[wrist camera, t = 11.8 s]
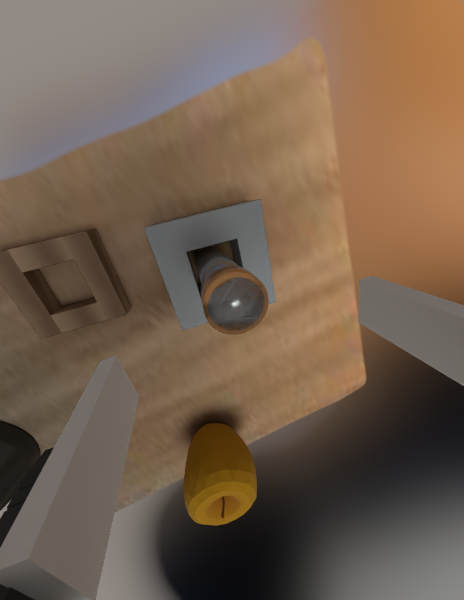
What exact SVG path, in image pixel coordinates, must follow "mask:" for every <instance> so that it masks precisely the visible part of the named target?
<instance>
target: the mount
mask: <svg viewBox="0 0 464 600" xmlns="http://www.w3.org/2000/svg"><path fill="white" fill-rule="evenodd" d="M70 260H75V262H76V264H77V266H78V268H79V270H80V271H81V273H82V275H83V277H84V279H85V281H86V283H87V284H88V286H89V288H90V290H91V292H92V294H93V296H94V297H95V298H92V299H88V300H84V301H81V302H77V303H74V304H70V305H66V306H63V307H62V306H61V304H60V303H59V301H58V300H57V298H56V296H55V295H54V293H53V292H52V290H51V288H50V287H49V285H48V284H47V282H46V280H45V279H44V277H43V276H42V274H41V272H40V271H39V269H38V268H42V267H46V266H50V265H54V264H58V263H62V262H66V261H70ZM0 283H1V284H2V286H3V287H4V288H5V290H6V291H7V293H8V294H9V295H10V297H11V298H12V300H13V301H14V302H15V304H16V305H17V306H18V308H19V309H20V311H21V312H22V313H23V315H24V316H25V318H26V319H27V320H28V322H29V323H30V325H31V326H32V327H33V329H34V330H35V332H36V333H37V334H38V336H39V337H40V338H41V339H42V338H46V337H49V336H53V335H56V334H60V333H63V332H67V331H70V330H74V329H77V328H81V327H84V326H88V325H91V324H95V323H98V322H102V321H105V320H109V319H112V318H116V317H119V316H123V315H126V314H127V313H128V311H129V309H130V307H131V305H130V303H129V301H128V298H127V296H126V294H125V292H124V290H123V288H122V286H121V283H120V281H119V279H118V277H117V275H116V273H115V271H114V269H113V266H112V264H111V262H110V260H109V258H108V256H107V254H106V251H105V249H104V247H103V245H102V243H101V241H100V239H99V236H98V234H97V232H96V230H95V229H93V230H88V231H83V232H79V233H75V234H71V235H67V236H62V237H58V238H54V239H50V240H46V241H42V242H38V243H33V244H29V245H25V246H21V247H17V248H13V249H9V250H4V251H0Z"/></svg>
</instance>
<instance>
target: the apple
mask: <svg viewBox="0 0 464 600" xmlns="http://www.w3.org/2000/svg"><path fill="white" fill-rule="evenodd" d="M256 492H257V479H256V470H255V467H254V463H253V459H252V455H251V453H250V451H249V449H248V447H247V446H246V444H245V443H244V441H243V440H242V439H241V437H240V436H239V435H238V434H237V433H236V432H235V431H234V430H233V429H232V428H231V427H230V426H228V425H225V424H222V423H208V424H206V425H203V426H202V427H201V428H200V429H199V430H198V431H197V433H196V434H195V435H194V437H193V439H192V441H191V444H190V447H189V450H188V456H187V461H186V468H185V476H184V496H185V505H186V508H187V510H188V513H189V515H190V517H191V518H192V519H193V520H194V521H195V522H197V523H199V524H206V525H221V524H226V523H228V522H231V521H233V520H235V519H236V518H238V517H240V516H242V515H243V514H244V513H245V512H246V511H247V510H249V508H250V507H251V505H252V504H253V502H254V500H255V499H256Z"/></svg>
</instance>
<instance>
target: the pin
mask: <svg viewBox="0 0 464 600" xmlns="http://www.w3.org/2000/svg"><path fill="white" fill-rule="evenodd" d="M196 265H197V269H198V273H199V277H200V281H201V285H202V292H201V300H202V305H203V310H204V314H205V317H206V319H207V321H208V322H209V324H210V325H211V326H212V327H213V328H214V329H216V330H218V331H219V332H222V333H225V334H241V333H244V332H247V331H249V330H251V329H252V328H254V327H255V326H256V325H258V324H259V323H260V322H261V320H262V319H263V317H264V316H265V314H266V312H267V308H268V301H269V299H268V293H267V290H266V288H265V286H264V285H263V283H262V282H261V281H260V280H259V279H258V278H256V277H255V276H254V275H253V274H252V273H251V272H250V271H248V270H247V269H245V268H242V267H239V266H238V265H237V264H236V263H235V262H234V261H233V260H232V259H231V258H230V257H229V256H228V255H227V254H226V253H224V252H223V251H222V250H221V249H220V248H219V247H217V246H213V245H210V246H206V247H203V248H202V249H201V250H200V251H199V252H198V254H197V256H196Z"/></svg>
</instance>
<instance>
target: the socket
mask: <svg viewBox="0 0 464 600" xmlns="http://www.w3.org/2000/svg"><path fill="white" fill-rule="evenodd" d="M144 229H145V232H146V235H147V237H148V240H149V243H150V245H151V248H152V251H153V253H154V256H155V259H156V261H157V264H158V267H159V269H160V272H161V275H162V277H163V280H164V283H165V285H166V288H167V291H168V293H169V296H170V299H171V301H172V304H173V307H174V309H175V312H176V315H177V317H178V320H179V323H180V325H181V328H182V330H186V329H189V328H192V327H196V326H199V325H202V324H206V323H209V322H208V321H207V319H206V317H205V314H204V310H203V305H202V300H201V292H202V285H199V286H198V284H197V280H196V277H195V274H194V270H193V267H192V264H191V261H190V257H189V254H188V251H191V250H195V249H199V248H203V247H206V246H210V245H214V244H218V243H222V242H225V241H229V240H230V244H231V248H232V253H233V258H234V262H235V263H236V264H237V265H238V266H239V267H242V268H245V269H247V270H248V271H250V272H251V273H252V274H253V275H254V276H255V277H256V278H258V279H259V280H260V281H261V282H262V283H263V285H264V286H265V288H266V290H267V293H268V299H269V301H268V304H272V303H275V302H276V300H275V293H274V286H273V280H272V273H271V266H270V260H269V253H268V246H267V239H266V233H265V226H264V219H263V213H262V206H261V199H259V200H253V201H247V202H243V203H239V204H235V205H231V206H227V207H223V208H219V209H215V210H211V211H206V212H202V213H198V214H194V215H190V216H186V217H182V218H178V219H174V220H170V221H166V222H162V223H158V224H154V225H150V226H148V227H145V228H144Z"/></svg>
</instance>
